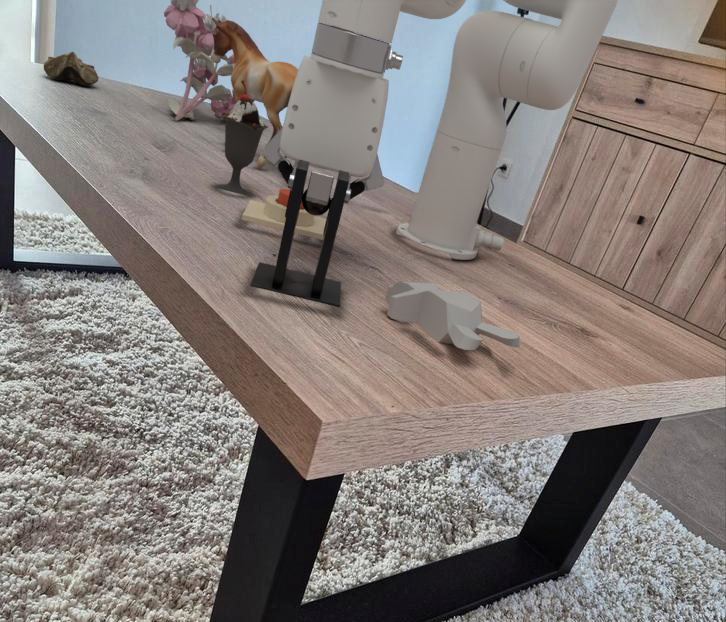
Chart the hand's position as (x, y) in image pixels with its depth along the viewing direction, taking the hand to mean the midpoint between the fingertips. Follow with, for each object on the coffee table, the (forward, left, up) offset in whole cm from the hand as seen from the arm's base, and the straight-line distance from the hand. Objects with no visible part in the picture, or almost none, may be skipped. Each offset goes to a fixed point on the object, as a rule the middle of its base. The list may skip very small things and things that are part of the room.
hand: (309, 228), depth 76 cm
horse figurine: (+14, -48, -5) cm, 50 cm away
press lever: (0, +5, +3) cm, 6 cm away
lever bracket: (0, +9, -5) cm, 10 cm away
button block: (+3, -13, -5) cm, 14 cm away
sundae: (+12, -26, -5) cm, 29 cm away
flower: (+26, -80, -5) cm, 84 cm away
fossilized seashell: (+55, -81, -5) cm, 98 cm away
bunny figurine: (-15, +12, -5) cm, 20 cm away
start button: (+3, -13, -2) cm, 14 cm away
